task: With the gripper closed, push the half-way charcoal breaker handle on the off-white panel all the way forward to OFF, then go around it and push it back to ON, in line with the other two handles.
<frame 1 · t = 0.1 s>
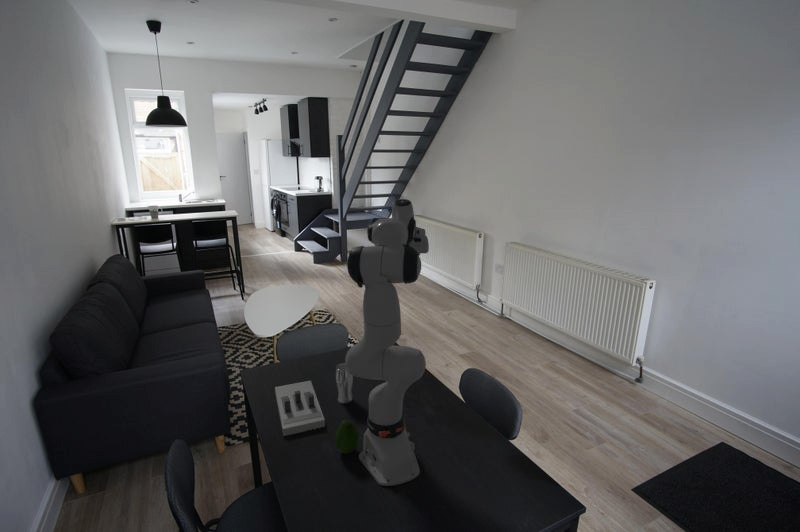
hand: (405, 258, 183), 54 cm above the table, tool tilted 30°, fingers open, 8 cm apart
breaker panel: (298, 409, 167), on the table
beer glass: (345, 399, 174), on the table
avocado: (347, 451, 143), on the table
tripped breaker handle: (297, 396, 166), point 6 cm above the table, slide at 4.0 cm
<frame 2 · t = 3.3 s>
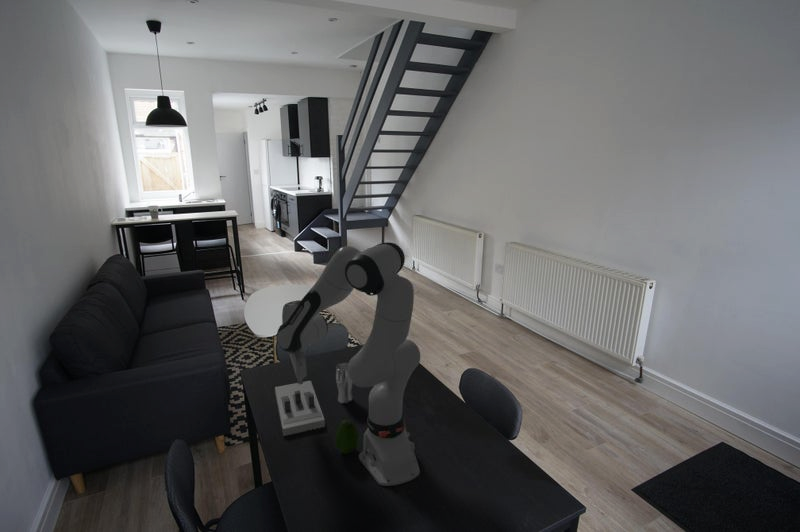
hand: (298, 377, 157), 17 cm above the table, tool pointing down, fingers open, 8 cm apart
nothing on the table moved.
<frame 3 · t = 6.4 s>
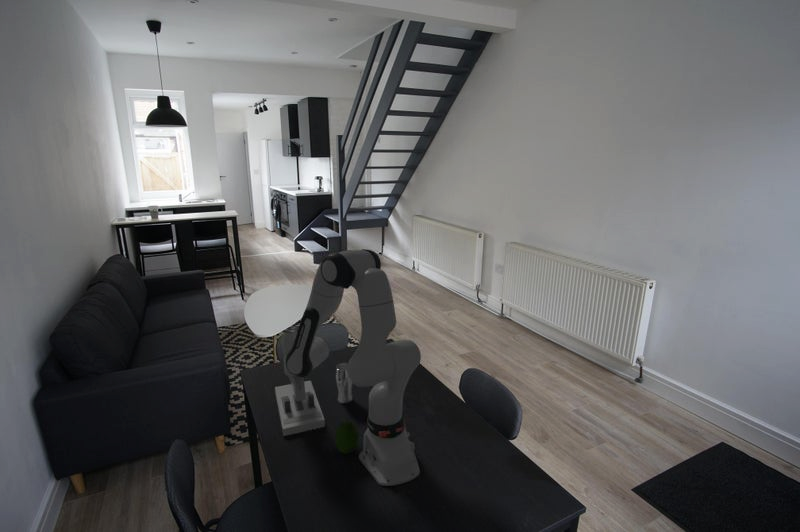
hand: (297, 398, 165), 5 cm above the table, tool pointing down, fingers closed
tripped breaker handle: (297, 394, 167), point 6 cm above the table, slide at 5.7 cm, touching gripper
everything else where it was.
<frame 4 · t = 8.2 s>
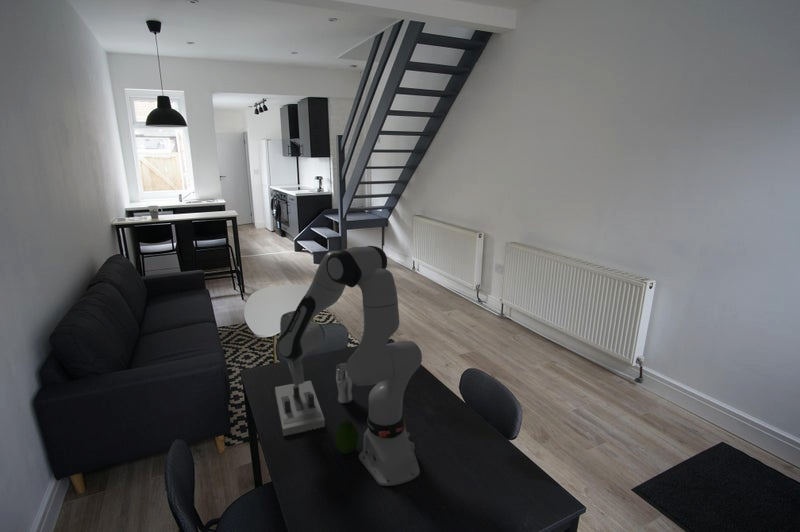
hand: (296, 383, 166), 10 cm above the table, tool pointing down, fingers closed
tripped breaker handle: (296, 391, 169), point 6 cm above the table, slide at 8.1 cm
everything else where it was.
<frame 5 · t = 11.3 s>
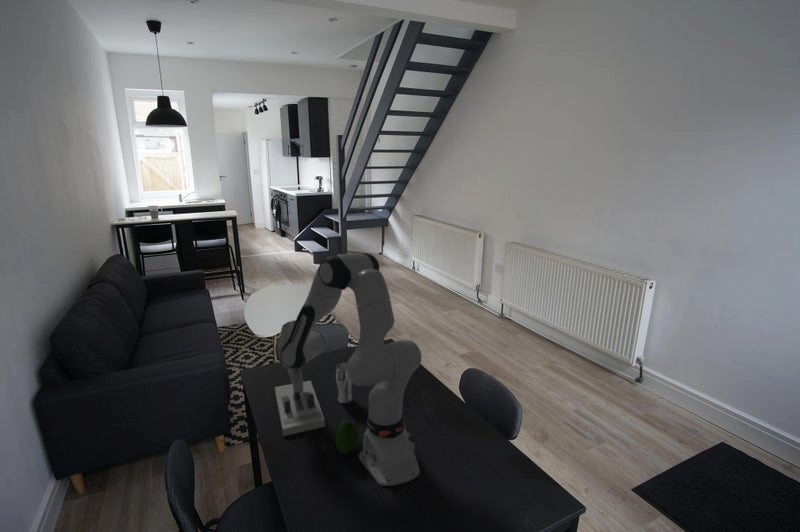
hand: (296, 390, 171), 5 cm above the table, tool pointing down, fingers closed
tripped breaker handle: (296, 393, 168), point 6 cm above the table, slide at 6.7 cm, touching gripper
everything else where it was.
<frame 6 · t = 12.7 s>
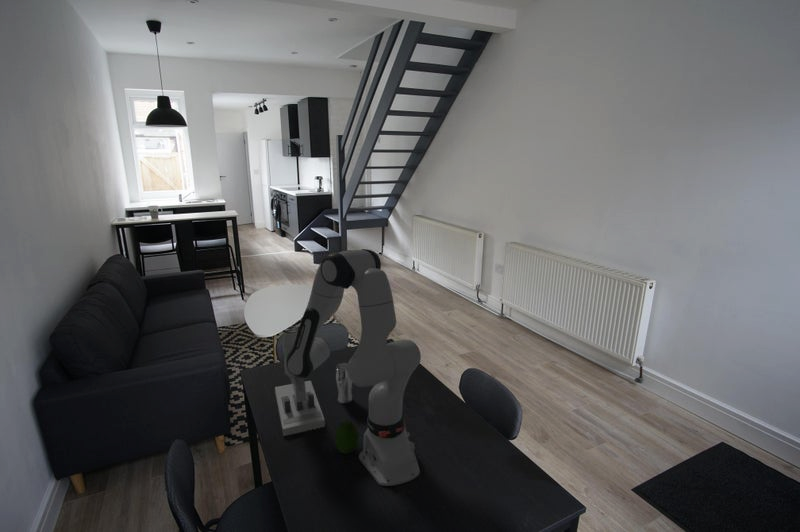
hand: (298, 399, 165), 5 cm above the table, tool pointing down, fingers closed
tripped breaker handle: (299, 402, 162), point 6 cm above the table, slide at -0.1 cm, touching gripper
everything else where it was.
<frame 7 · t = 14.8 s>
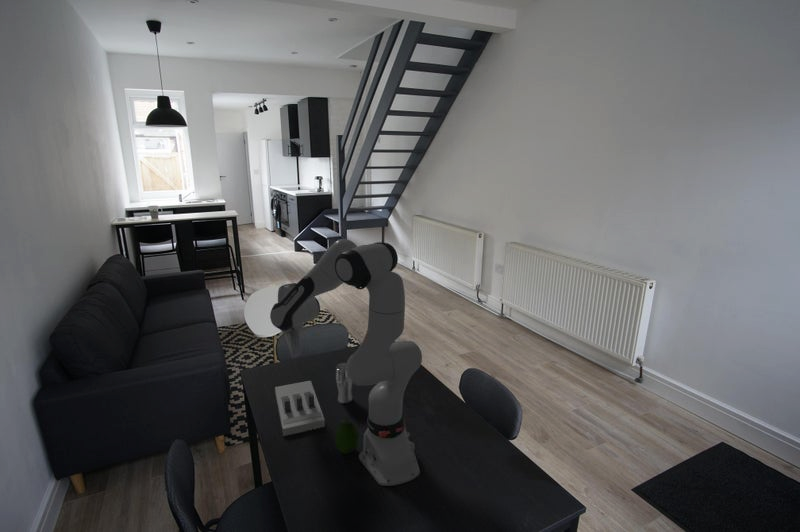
hand: (293, 357, 166), 21 cm above the table, tool pointing down, fingers closed
tripped breaker handle: (299, 402, 162), point 5 cm above the table, slide at -0.1 cm
everything else where it was.
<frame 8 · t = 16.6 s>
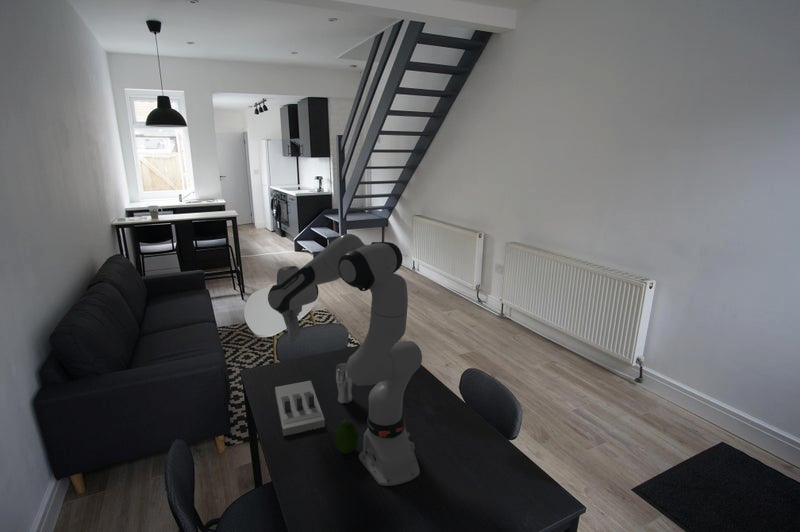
hand: (292, 340, 166), 27 cm above the table, tool pointing down, fingers closed
nothing on the table moved.
at the end: tripped breaker handle slide at -0.1 cm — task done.
